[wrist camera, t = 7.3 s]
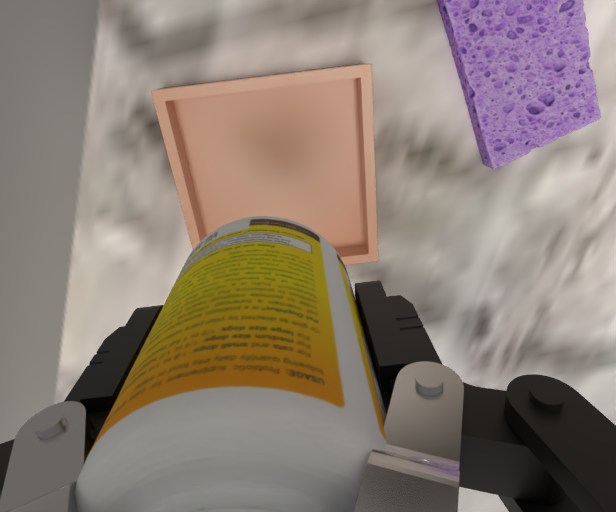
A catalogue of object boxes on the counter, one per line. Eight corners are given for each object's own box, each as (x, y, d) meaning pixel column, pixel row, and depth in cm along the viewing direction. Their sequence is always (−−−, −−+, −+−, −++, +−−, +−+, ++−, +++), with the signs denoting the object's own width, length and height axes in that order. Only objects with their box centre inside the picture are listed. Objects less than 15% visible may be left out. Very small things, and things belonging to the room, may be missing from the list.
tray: (363, 63, 24) (371, 64, 21) (371, 245, 29) (378, 260, 27) (164, 87, 24) (150, 90, 22) (208, 264, 29) (201, 281, 27)
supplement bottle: (149, 277, 13) (-162, 757, 4) (276, 173, 12) (231, 551, 3) (260, 374, 15) (216, 839, 6) (379, 295, 14) (549, 744, 5)
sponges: (479, 163, 27) (492, 170, 26) (420, -39, 22) (430, -47, 20) (583, 115, 26) (604, 119, 24) (547, -111, 21) (569, -126, 19)
